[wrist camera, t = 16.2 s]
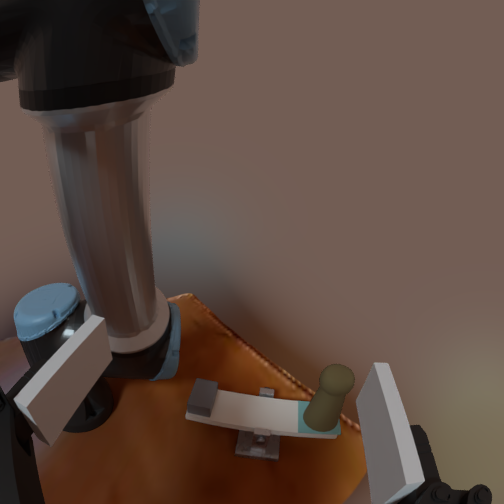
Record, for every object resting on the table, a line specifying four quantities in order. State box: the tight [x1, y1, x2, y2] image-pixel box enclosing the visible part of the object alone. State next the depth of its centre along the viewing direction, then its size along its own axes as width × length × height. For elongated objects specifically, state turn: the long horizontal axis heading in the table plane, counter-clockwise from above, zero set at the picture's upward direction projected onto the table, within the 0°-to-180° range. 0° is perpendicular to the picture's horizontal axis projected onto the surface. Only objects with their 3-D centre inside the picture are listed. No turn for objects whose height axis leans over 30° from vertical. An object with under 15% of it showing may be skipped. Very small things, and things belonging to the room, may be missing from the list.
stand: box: [235, 387, 280, 461], centre depth 44 cm, size 7×12×7 cm, turn 174°
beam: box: [186, 378, 341, 439], centre depth 43 cm, size 24×7×4 cm, turn 83°
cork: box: [303, 364, 355, 432], centre depth 40 cm, size 6×6×11 cm
